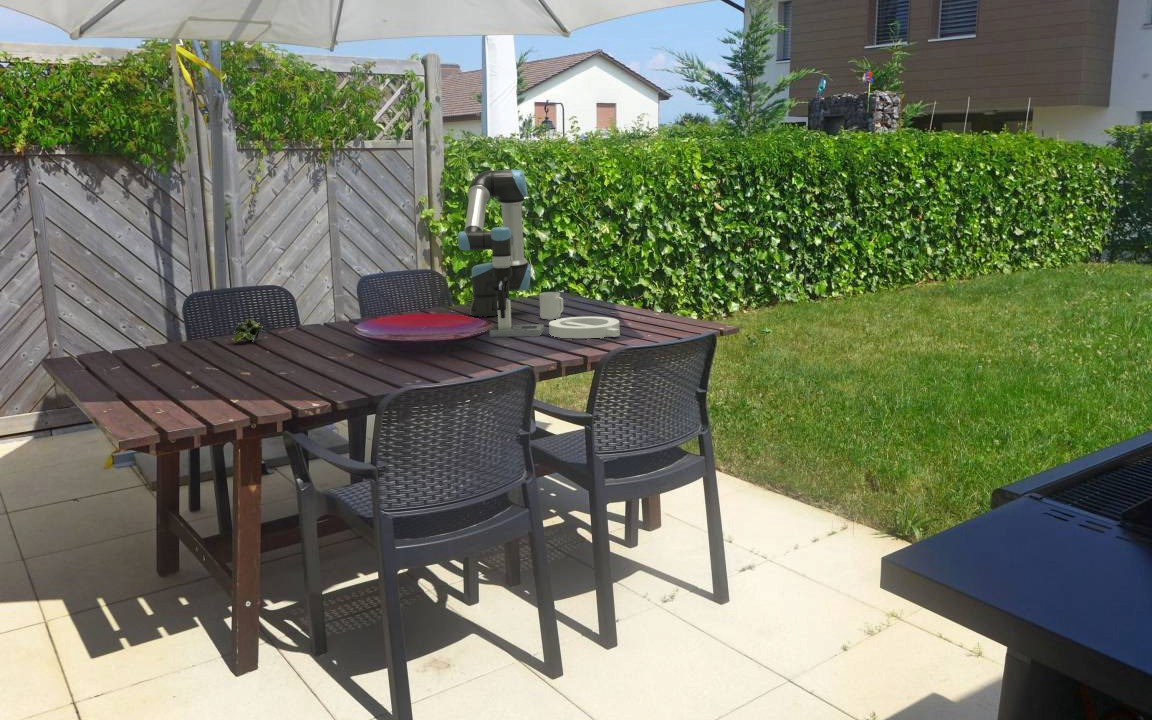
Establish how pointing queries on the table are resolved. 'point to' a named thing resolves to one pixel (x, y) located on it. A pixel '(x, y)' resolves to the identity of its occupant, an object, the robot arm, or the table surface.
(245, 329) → the green leafy plant
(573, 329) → the white circle with bar
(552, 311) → the mug
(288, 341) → the table surface
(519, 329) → the panel
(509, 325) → the white tall block
